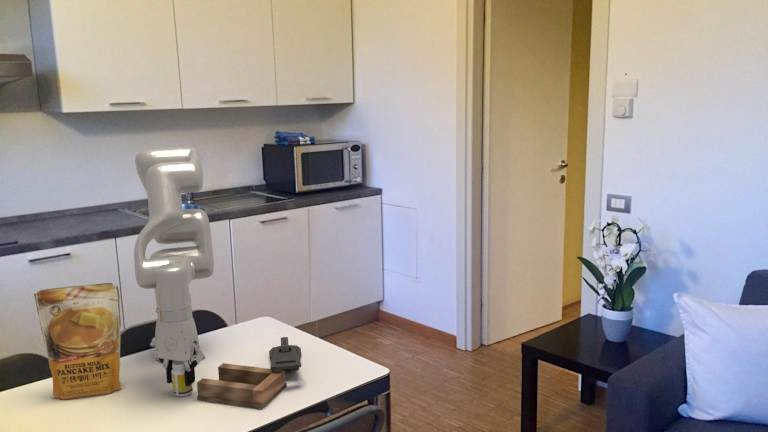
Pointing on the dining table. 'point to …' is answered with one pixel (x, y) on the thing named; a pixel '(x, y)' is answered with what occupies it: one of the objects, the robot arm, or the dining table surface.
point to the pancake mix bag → (81, 338)
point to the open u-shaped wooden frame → (242, 386)
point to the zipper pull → (285, 357)
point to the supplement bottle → (179, 379)
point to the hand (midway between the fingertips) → (181, 381)
